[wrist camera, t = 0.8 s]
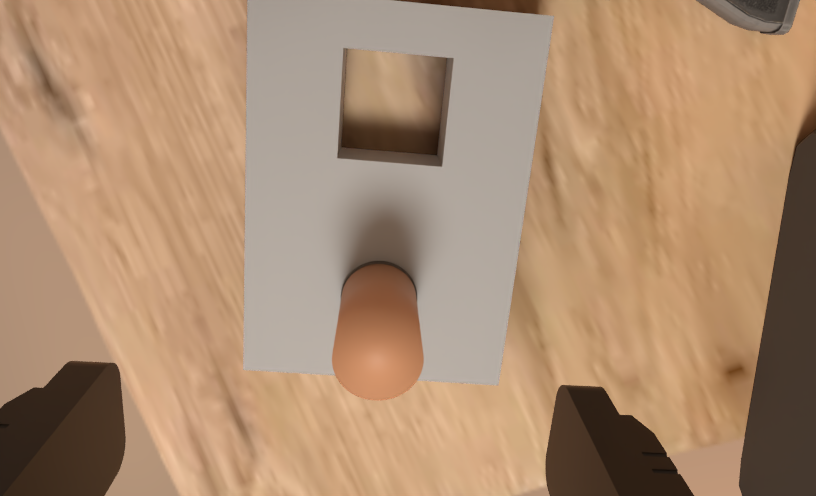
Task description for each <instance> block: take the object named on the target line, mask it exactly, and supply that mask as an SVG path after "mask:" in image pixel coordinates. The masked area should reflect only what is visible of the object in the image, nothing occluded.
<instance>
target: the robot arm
mask: <svg viewBox="0 0 816 496" xmlns="http://www.w3.org/2000/svg"><path fill="white" fill-rule="evenodd" d="M124 450H125V427H124V414H123V404H122V391H121V380H120V372H119V369H118V367H117V365H116V364H115V363H101V362H82V361H81V362H80V361H70V362H68V363H67V364H65V365H64V366H63V368H62V369H61V370H60V371H59V372H58V373H57V374H56V375H55V376H54V377H53V378H52V379H51V380H50V382H49V383H48V384H47V385H46V386H45V387H44V388H32V389H31V390H29V391H27V392H25V393H23V394H22V395H20V396H18V397H16V398H15V399H13V400H11V401H9V402H7V403H6V404H4V405H3V406H2V408H0V496H104V495H105V494H106V492H107V490H108V489H109V487H110V485H111V484H112V482H113V480H114V478H115V476H116V475H117V473H118V471H119V469H120V466H121V464H122V460H123V456H124ZM546 481H547V487H548V491H549V494H550V496H694V495H693V493H692V492H691V490H690V489H689V487H688V486H687V484H686V482H685V481H684V479H683V478H682V476H681V475H680V474H678V473H677V469H676V467H675V465H674V464H673V462H672V461H671V459H670V458H669V457H667V453H666V451H665V450H664V448H663V447H662V445H661V444H660V442H659V440H658V439H657V437H656V436H655V434H654V433H653V432H652V431H650V430H649V429H648V428H647V427H645V426H644V425H643V424H642V423H640V422H639V421H638V420H637V419H635V418H634V417H633V416H632V415H619V413H618V411H617V410H616V408H615V406H614V405H613V403H612V401H611V399H610V398H609V396H608V394H607V393H606V391H605V390H604V388H602V387H593V386H571V385H561V386H560V388H559V389H558V392H557V396H556V401H555V407H554V413H553V418H552V424H551V430H550V436H549V442H548V448H547V454H546Z"/></svg>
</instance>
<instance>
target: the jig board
mask: <svg viewBox="0 0 816 496" xmlns="http://www.w3.org/2000/svg"><path fill="white" fill-rule="evenodd" d="M553 20H554V16H548V15H538V14H528V13H517V12H507V11H497V10H486V9H476V8H466V7H456V6H445V5H435V4H425V3H415V2H404V1H394V0H247V88H246V179H245V270H244V362H243V370H253V371H270V372H286V373H302V374H319V375H335V376H336V377H337V379H338V381H339V382H340V383H341V384H342V386H343V387H344V388H345V389H347V390H348V391H349V392H351V393H352V394H354V395H356V396H358V397H361V398H364V399H368V400H387V399H391V398H394V397H397V396H399V395H401V394H403V393H405V392H406V391H408V390H409V389H410V388H411V387H412V386H413V385H414V384H415V383H416V381H434V382H450V383H466V384H483V385H499V378H500V371H501V365H502V358H503V351H504V345H505V338H506V332H507V325H508V318H509V312H510V305H511V298H512V292H513V285H514V278H515V272H516V265H517V259H518V252H519V245H520V239H521V232H522V225H523V219H524V212H525V205H526V199H527V192H528V186H529V179H530V172H531V166H532V159H533V152H534V146H535V139H536V133H537V126H538V119H539V113H540V106H541V99H542V93H543V86H544V79H545V73H546V66H547V60H548V53H549V46H550V40H551V33H552V26H553ZM347 48H349V49H360V50H371V51H382V52H393V53H404V54H414V55H425V56H436V57H447V65H446V74H445V84H444V93H443V103H442V113H441V122H440V132H439V141H438V151H437V155H429V154H417V153H405V152H393V151H381V150H369V149H357V148H345V147H341V144H342V127H343V109H344V92H345V74H346V57H347Z"/></svg>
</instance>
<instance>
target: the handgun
mask: <svg viewBox="0 0 816 496" xmlns="http://www.w3.org/2000/svg"><path fill="white" fill-rule="evenodd" d="M696 1H698V2H699V3H701V4H702V5H704V6H705V7H707V8H708V9H710V10H711V11H712V12H714V13H715V14H717V15H718V16H720V17H721V18H723V19H724V20H726V21H727V22H728V23H730V24H732V25H735V26H738V27H741V28H744V29H746V30H751V31H760V33H763V34H769V35H784V34H785V33H787V32H789V30H790V28H791V27H792V24H793V21H794V18H795V14H796V11H797V8H798V5H799V1H800V0H696Z"/></svg>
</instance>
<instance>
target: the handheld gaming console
mask: <svg viewBox="0 0 816 496" xmlns="http://www.w3.org/2000/svg"><path fill="white" fill-rule="evenodd" d="M739 487H740V490H741V493H742V496H816V129H815V130H814V131H813V132H812V133H811V134H809V135H808V136H807V137H806V138H805V139H804V140H803V141H802V142H801V143H799V144H798V145H797V148H796V152H795V156H794V160H793V164H792V168H791V172H790V176H789V181H788V186H787V192H786V198H785V204H784V210H783V216H782V222H781V228H780V234H779V240H778V245H777V251H776V257H775V263H774V269H773V275H772V281H771V287H770V293H769V298H768V304H767V310H766V316H765V322H764V328H763V334H762V340H761V346H760V352H759V357H758V363H757V369H756V375H755V381H754V387H753V393H752V399H751V405H750V410H749V416H748V422H747V428H746V434H745V440H744V446H743V452H742V458H741V468H740V480H739Z"/></svg>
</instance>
